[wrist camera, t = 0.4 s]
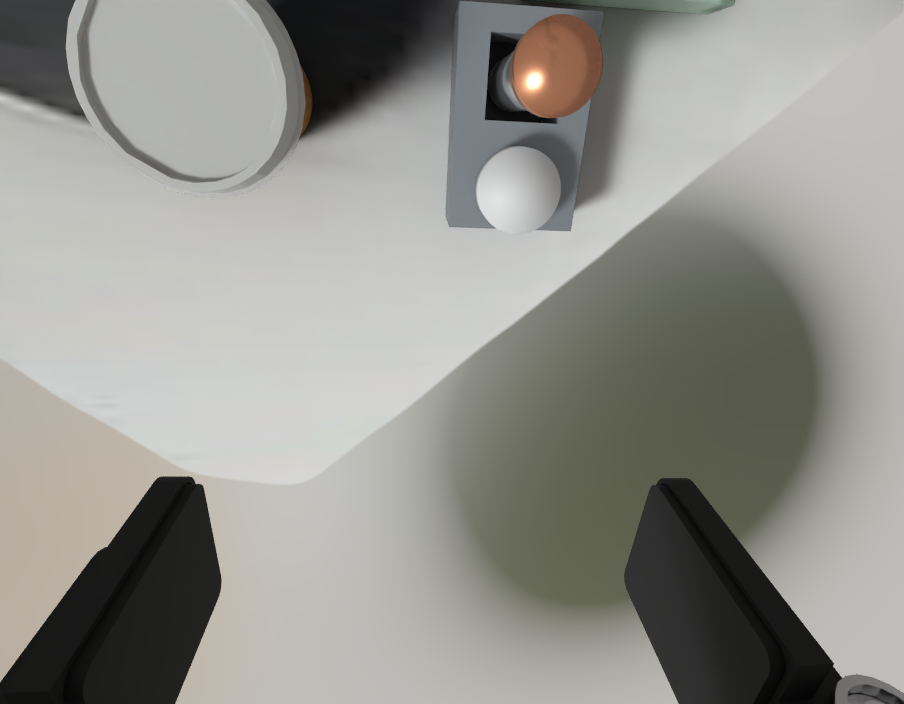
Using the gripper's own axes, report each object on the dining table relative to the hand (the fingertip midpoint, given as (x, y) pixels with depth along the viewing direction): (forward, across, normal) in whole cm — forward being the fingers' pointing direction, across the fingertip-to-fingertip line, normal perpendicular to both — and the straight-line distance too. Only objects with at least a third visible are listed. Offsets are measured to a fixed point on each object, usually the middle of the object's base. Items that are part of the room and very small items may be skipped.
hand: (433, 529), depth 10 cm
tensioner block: (+28, -6, -8) cm, 29 cm away
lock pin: (+28, -6, -10) cm, 30 cm away
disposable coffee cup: (+28, +10, -9) cm, 31 cm away
